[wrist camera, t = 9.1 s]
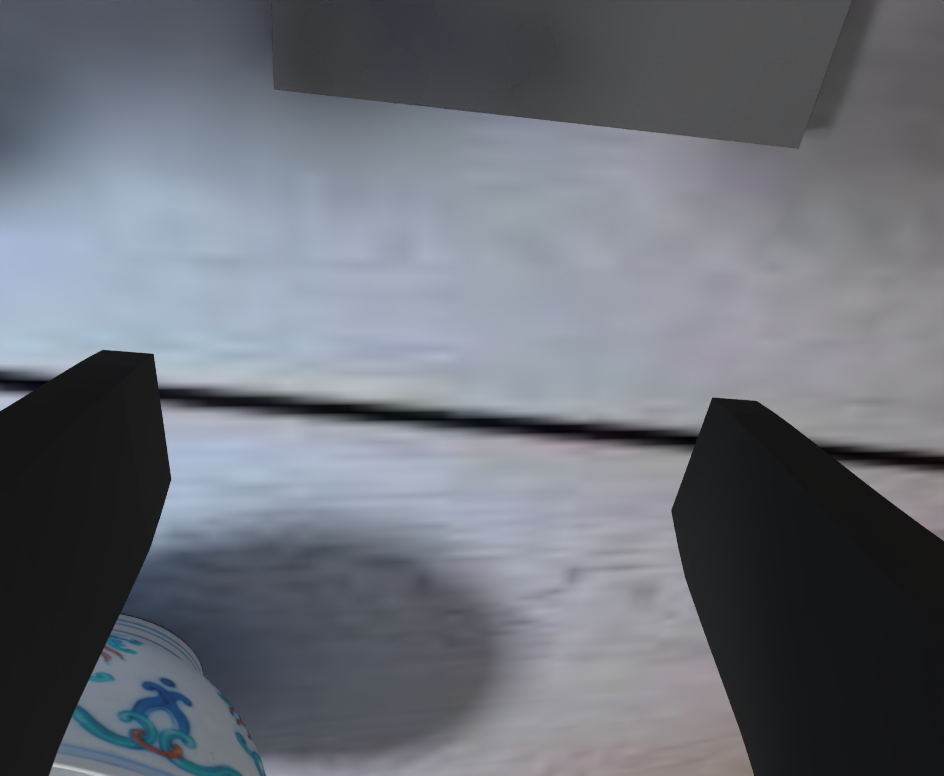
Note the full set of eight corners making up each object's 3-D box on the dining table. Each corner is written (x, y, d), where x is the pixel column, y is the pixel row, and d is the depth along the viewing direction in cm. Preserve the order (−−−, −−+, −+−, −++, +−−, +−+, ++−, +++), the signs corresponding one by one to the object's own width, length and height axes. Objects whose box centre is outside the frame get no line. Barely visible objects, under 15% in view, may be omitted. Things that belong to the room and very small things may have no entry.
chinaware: (255, 796, 35) (214, 1004, 28) (-105, 732, 31) (-247, 956, 24) (363, 593, 27) (340, 814, 21) (-97, 474, 23) (-301, 700, 17)
